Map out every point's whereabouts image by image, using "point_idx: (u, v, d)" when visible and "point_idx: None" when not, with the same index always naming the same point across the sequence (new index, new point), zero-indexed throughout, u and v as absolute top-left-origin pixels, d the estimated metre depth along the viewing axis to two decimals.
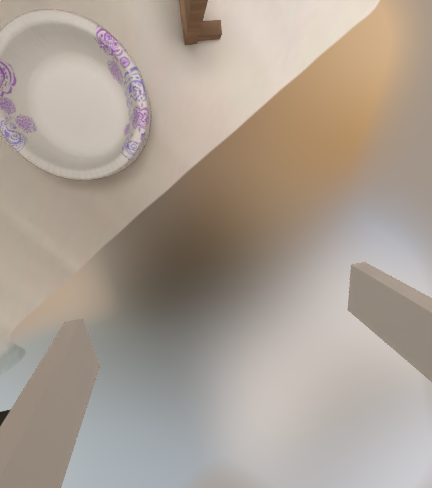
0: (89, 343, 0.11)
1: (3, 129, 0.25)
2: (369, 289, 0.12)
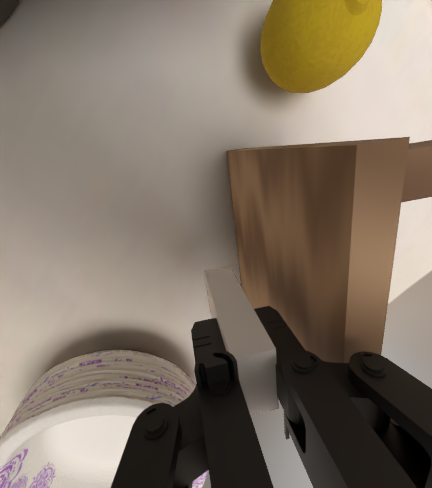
0: None
1: None
2: None
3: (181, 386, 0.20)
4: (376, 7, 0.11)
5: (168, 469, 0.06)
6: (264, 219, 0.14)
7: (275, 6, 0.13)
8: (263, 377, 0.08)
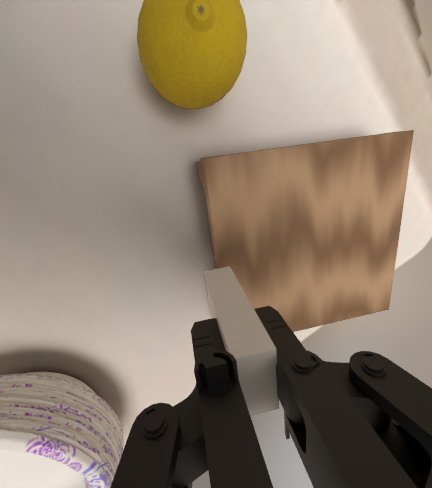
0: None
1: None
2: None
3: (86, 412, 0.19)
4: (228, 23, 0.11)
5: (168, 469, 0.06)
6: (316, 200, 0.17)
7: (138, 20, 0.12)
8: (263, 377, 0.08)
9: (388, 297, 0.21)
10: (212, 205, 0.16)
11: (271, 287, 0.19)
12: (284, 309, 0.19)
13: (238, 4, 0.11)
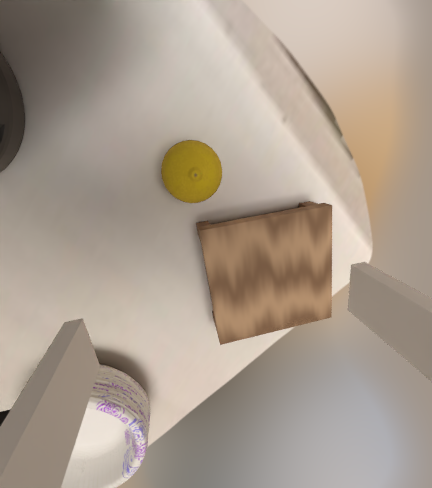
0: (89, 343, 0.11)
1: None
2: (369, 289, 0.12)
3: (128, 389, 0.29)
4: (210, 175, 0.21)
5: None
6: (272, 250, 0.27)
7: (162, 164, 0.22)
8: None
9: (329, 309, 0.31)
10: (206, 256, 0.26)
11: (247, 304, 0.28)
12: (257, 318, 0.29)
13: (215, 162, 0.21)
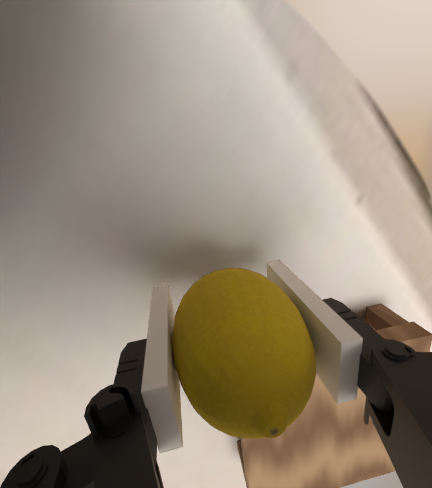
0: (171, 302, 0.14)
1: None
2: None
3: None
4: (302, 403, 0.08)
5: None
6: None
7: (176, 342, 0.09)
8: (347, 367, 0.08)
9: None
10: None
11: (295, 464, 0.19)
12: (307, 479, 0.20)
13: (312, 361, 0.08)
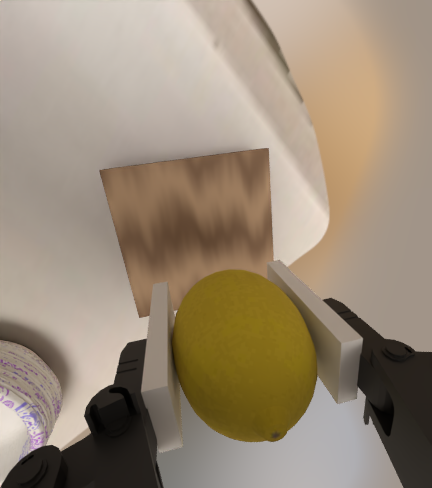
0: (171, 302, 0.14)
1: None
2: (276, 284, 0.13)
3: (24, 367, 0.24)
4: (304, 406, 0.08)
5: None
6: (196, 201, 0.22)
7: (176, 345, 0.09)
8: (347, 367, 0.08)
9: None
10: (110, 205, 0.21)
11: (169, 269, 0.24)
12: (183, 287, 0.25)
13: (313, 363, 0.08)
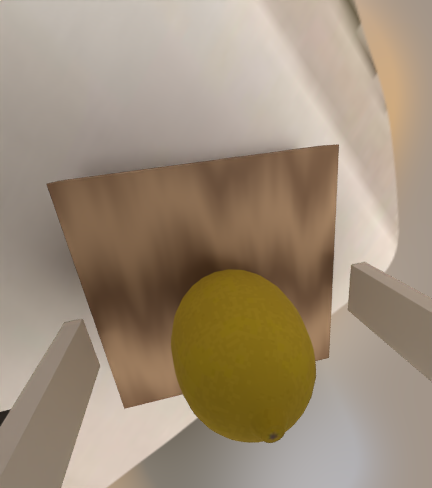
0: (89, 343, 0.11)
1: None
2: (369, 289, 0.12)
3: None
4: (302, 407, 0.08)
5: None
6: (216, 233, 0.13)
7: (174, 345, 0.09)
8: None
9: (326, 344, 0.17)
10: (70, 242, 0.12)
11: (170, 338, 0.15)
12: None
13: (311, 364, 0.08)
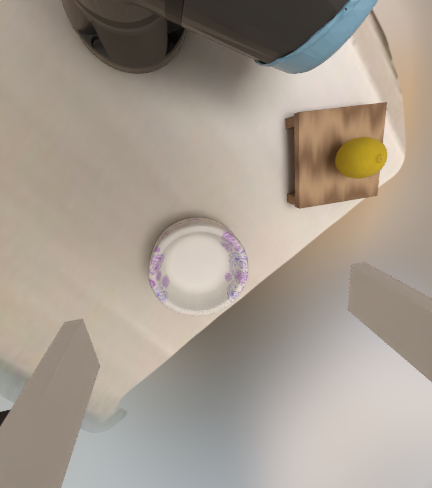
0: (89, 343, 0.11)
1: (156, 292, 0.38)
2: (369, 289, 0.12)
3: None
4: (385, 159, 0.33)
5: None
6: (343, 133, 0.38)
7: (347, 152, 0.34)
8: None
9: (376, 188, 0.42)
10: (300, 133, 0.37)
11: (321, 176, 0.40)
12: (326, 189, 0.41)
13: (386, 151, 0.33)
